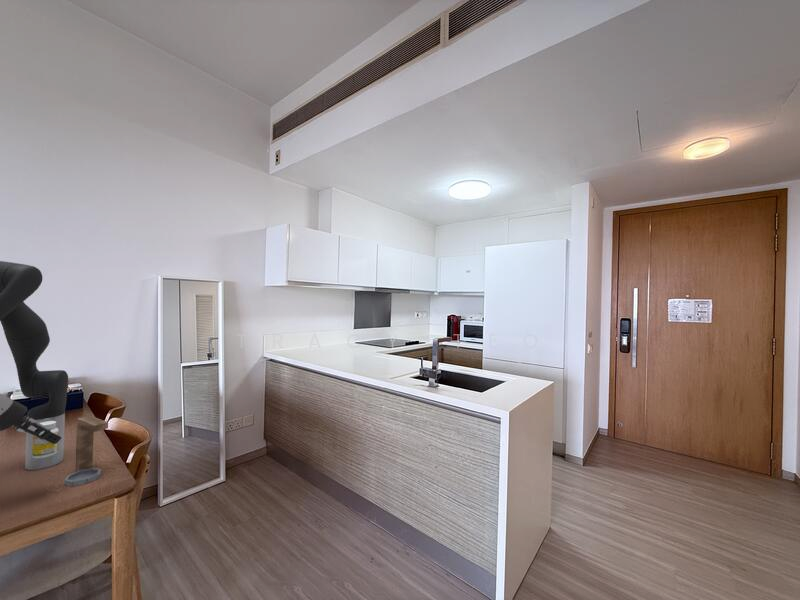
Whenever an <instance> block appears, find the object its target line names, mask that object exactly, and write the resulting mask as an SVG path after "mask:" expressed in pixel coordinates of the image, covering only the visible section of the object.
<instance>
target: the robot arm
mask: <svg viewBox="0 0 800 600" xmlns="http://www.w3.org/2000/svg"><path fill="white" fill-rule="evenodd" d="M43 277H44V276H43V274H42V272H41V270H40V269H39V268H38V267H36V266H34V265H29V264H24V263H17V262H11V261H5V260H4V261H2V260H0V323H1V326H2V329H3V333H4V336H5V339H6V342H7V345H8V347H9V350H10V352H11V354H12V357H13V361H14V363H15V368H16V371H17V372H16V373H17V377H18V378H17V379H18V384H19V387H20V388H19V389H20V391H21V393H22V395H23V396H24V397H26V398H30V399H32V398H33V399H36V398H49V399H48V402H46V403H43V404H41V405H38V406H34V407H32V408H30V409H29V410H28V407H27V406H26V405H24V404H22V403H20V402H18V401H16V400H14V399H12V398H11V397H8V396H6V395H4V394H2V393H0V432H3V431H5V430H7V429H9V428H11V429H13V430H15V431H17V432H19V433H24V434H26V438H25V439H26V440H25V460H24V462H25V464H24V465H25V466H24V469H25V470H27V471H34V470H35V471H36V470H42V469H46V468H50V467H53V466H55V465H57V464H60V463H61V462H62V461H64V450H65V449H64V445H65V421H66V419H65V417H66V414H65V413H66V407H67V400H68V399H67V396H68V388H69V387H68V386H69V375H68V373H67V371H66V370H64V369H63V370H60V369H57V370H39V369H38V367H37V362H38V360H39V359H40V357H41V356H42V355H43V354H44V353H45V351H46V349H47V348H48V346H49V345H50V341H51V339H50V334H49V331H48V327H47V324H46V323H45V321H44V319H42V317H41V316H40V315H38V314H37V313H36V312H35V311H34V310H33V309H32V308H31V307H30V306H28V305H27V303H25V301H26V300H27V299H28V298H29V297H31V296H32V295H33V294H34V293H35V292H36V291H37V290H38V289H39V287H40V286H41V284H42V283H43ZM26 413H27V414H26ZM47 421H56V427H55V428H58V429H59V436H58V435H56V434H54V433H52V432H51V431H50V430H47V429H45V428H43V427H44V426H43V425H42V424H40V423H42V422H47ZM43 430H44V431H45V432H44V433H43V434H42V435H39V434H40V433H41V432H42V431H43ZM33 436H37V437H39V438H40V439H44V440H47V441H49V442H51V443H53V444H56V443H57V442H58V451H57V453H55V454H54V455H51V456H48V457H44V458H33V457H32V449H33Z"/></svg>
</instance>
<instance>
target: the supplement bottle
mask: <svg viewBox="0 0 800 600" xmlns="http://www.w3.org/2000/svg"><path fill="white" fill-rule="evenodd" d="M40 424H42V425H43V426H44V427H43V428H45V429H47V430H50V431H51V432H52V433H54V434H56V435H58V436H59V429H58V428H55V427H56V421H47V422H42V423H40ZM44 432H45V431H44V430H43V431H42V432H41V433H40V434H39V435H42V434H43V433H44ZM57 451H58V442H57V443H56V444H53V443H51V442H49V441H47V440H44V439H40V438H39V437H37V436H33V449H32V457H33V458H44V457H48V456H51V455H54V454H55V453H57Z"/></svg>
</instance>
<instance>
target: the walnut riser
mask: <svg viewBox="0 0 800 600" xmlns="http://www.w3.org/2000/svg"><path fill="white" fill-rule="evenodd" d="M106 429H109V422H108V421H106V420H103V419H100V418H98V417H95V416H92V415H87V416H82V417H78V418H77V419H76V439H75V444H76V445H75V446H76V447H75V465H74V466H75V467H74V468H75V472H77V471H80V470H85V469H90V468H93V466H94V465H93V462H94V461H93V460H94V458H93V457H94V454H93V453H94V437H95V436H94V433H95V432H99V431H103V430H106Z"/></svg>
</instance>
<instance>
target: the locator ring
mask: <svg viewBox="0 0 800 600" xmlns="http://www.w3.org/2000/svg"><path fill="white" fill-rule="evenodd" d="M101 473H102V469H101V468H97V467H92V468H90V469H85V470H80V471H77V472H76V471H75V472H73V473H70V474H68V475H67V476H66V477H65V479H64V485H65V486H68V487H76V486H75V485H78V486H82V485H81V484H83V485H85V483H86V484H88V483H87V482H89V483H91V481H92V482H93V480H94V481H95V479H96V480H97V479H99V478H100V476H101Z"/></svg>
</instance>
